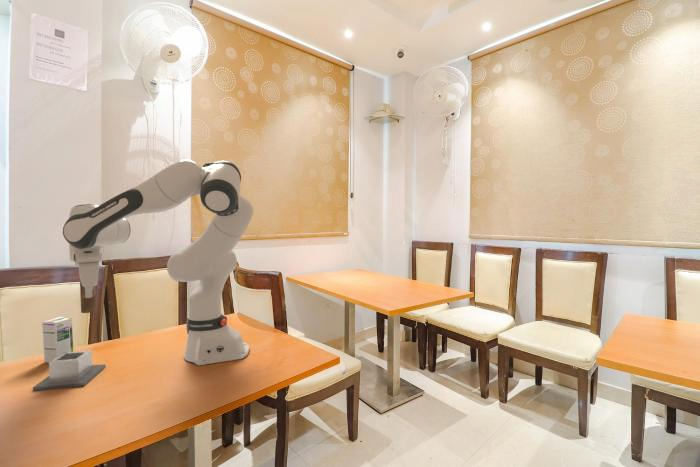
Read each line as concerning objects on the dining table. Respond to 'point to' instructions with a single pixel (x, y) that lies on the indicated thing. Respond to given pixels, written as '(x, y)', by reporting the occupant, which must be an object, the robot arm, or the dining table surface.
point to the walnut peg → (87, 300)
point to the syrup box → (57, 337)
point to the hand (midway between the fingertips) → (88, 295)
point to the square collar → (70, 371)
